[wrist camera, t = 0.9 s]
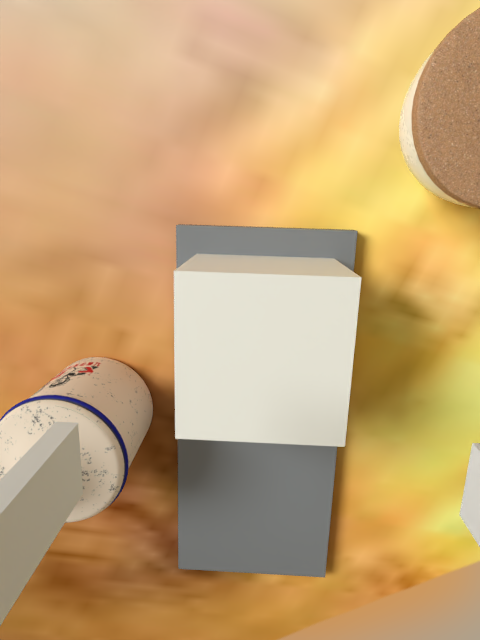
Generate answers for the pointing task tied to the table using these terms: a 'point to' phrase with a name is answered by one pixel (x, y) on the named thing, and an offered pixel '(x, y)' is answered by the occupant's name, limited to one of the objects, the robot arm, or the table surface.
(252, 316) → the block
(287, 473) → the board
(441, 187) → the lidded jar
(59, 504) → the robot arm
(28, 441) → the teacup with lid
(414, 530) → the table surface
